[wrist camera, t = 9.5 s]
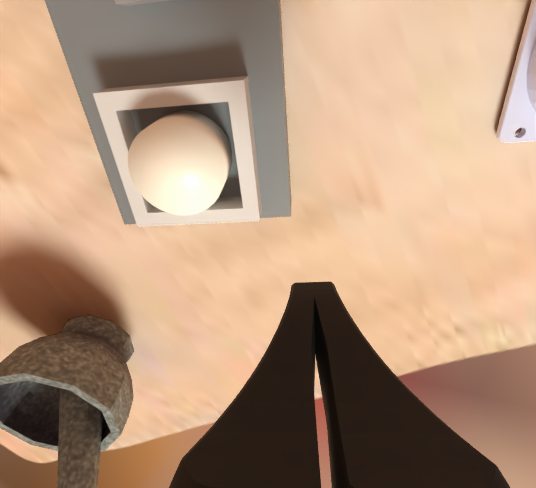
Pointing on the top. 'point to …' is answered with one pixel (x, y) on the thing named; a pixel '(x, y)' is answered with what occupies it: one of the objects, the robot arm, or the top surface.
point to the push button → (180, 162)
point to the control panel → (184, 91)
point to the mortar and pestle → (70, 395)
